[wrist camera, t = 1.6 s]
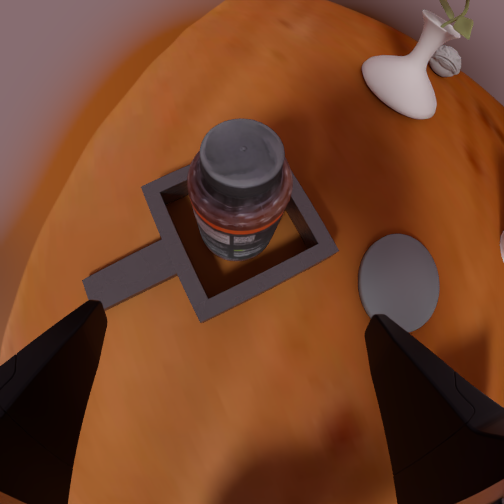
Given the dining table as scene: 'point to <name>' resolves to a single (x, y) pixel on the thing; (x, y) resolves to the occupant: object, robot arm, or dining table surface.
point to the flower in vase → (414, 66)
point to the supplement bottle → (239, 188)
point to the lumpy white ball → (445, 61)
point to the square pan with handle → (178, 263)
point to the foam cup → (502, 245)
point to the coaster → (399, 281)
